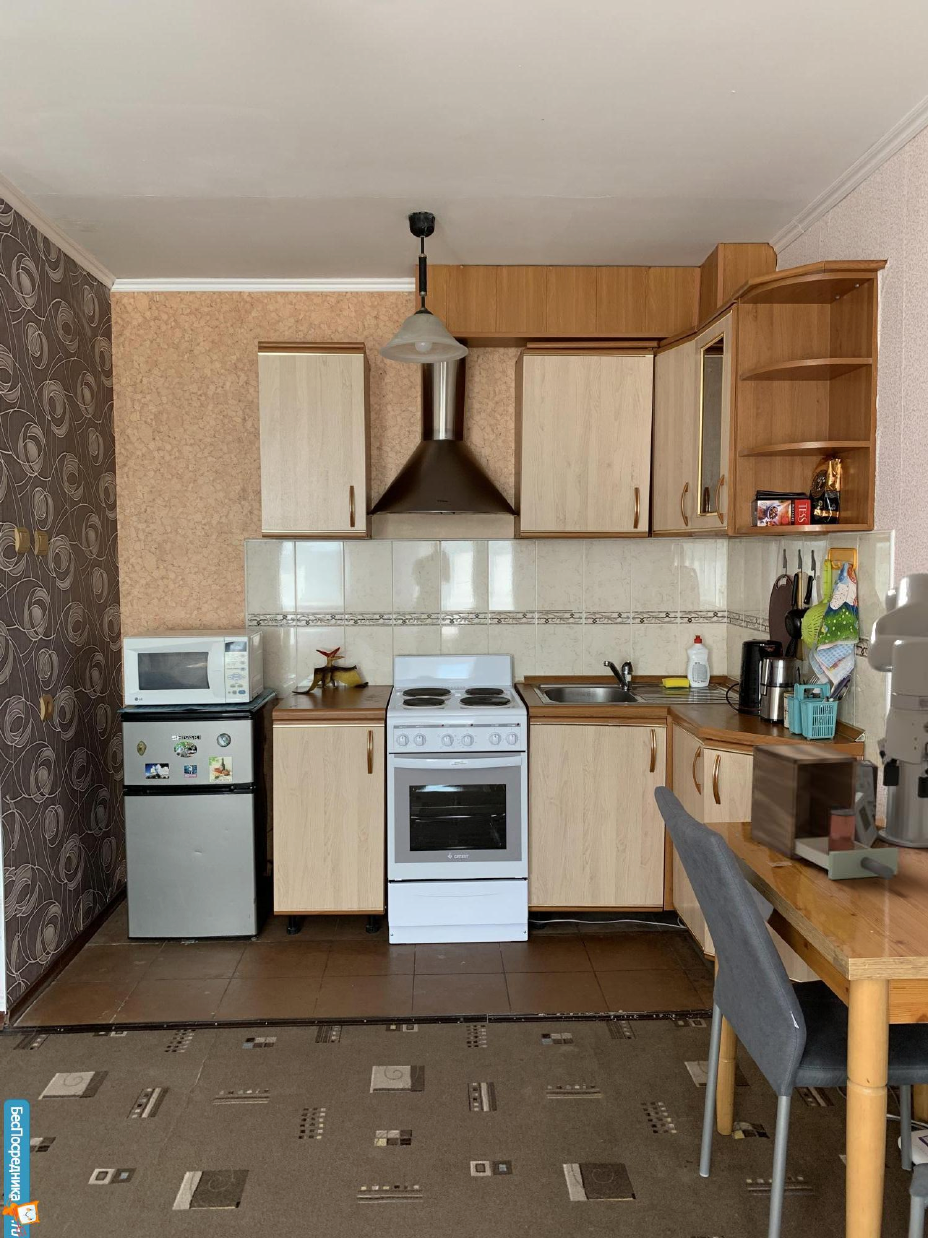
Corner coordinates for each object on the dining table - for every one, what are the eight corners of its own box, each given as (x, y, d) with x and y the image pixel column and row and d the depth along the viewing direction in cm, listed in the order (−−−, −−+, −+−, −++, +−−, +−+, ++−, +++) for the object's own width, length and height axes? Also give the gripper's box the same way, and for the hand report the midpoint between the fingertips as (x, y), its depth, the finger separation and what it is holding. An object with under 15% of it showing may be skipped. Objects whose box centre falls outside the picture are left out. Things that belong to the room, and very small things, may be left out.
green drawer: (847, 851, 208) (848, 827, 207) (921, 886, 185) (922, 859, 185) (786, 855, 204) (787, 831, 204) (854, 891, 182) (855, 864, 181)
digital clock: (865, 854, 206) (867, 807, 205) (825, 846, 212) (827, 800, 211) (890, 840, 218) (892, 796, 217) (851, 832, 224) (853, 789, 223)
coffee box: (876, 832, 224) (879, 766, 224) (848, 830, 226) (850, 765, 225) (867, 822, 233) (870, 759, 233) (840, 820, 235) (843, 757, 234)
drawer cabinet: (809, 834, 222) (813, 743, 220) (853, 854, 206) (857, 757, 205) (750, 838, 218) (753, 745, 217) (789, 858, 202) (793, 759, 201)
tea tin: (859, 858, 196) (861, 811, 195) (837, 860, 195) (838, 813, 194) (843, 851, 201) (845, 805, 201) (822, 852, 200) (823, 806, 199)
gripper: (962, 709, 170) (957, 801, 171) (897, 697, 187) (894, 781, 187) (927, 710, 168) (922, 803, 169) (865, 697, 185) (861, 782, 186)
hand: (907, 791), depth 178 cm, fingers open, 9 cm apart
